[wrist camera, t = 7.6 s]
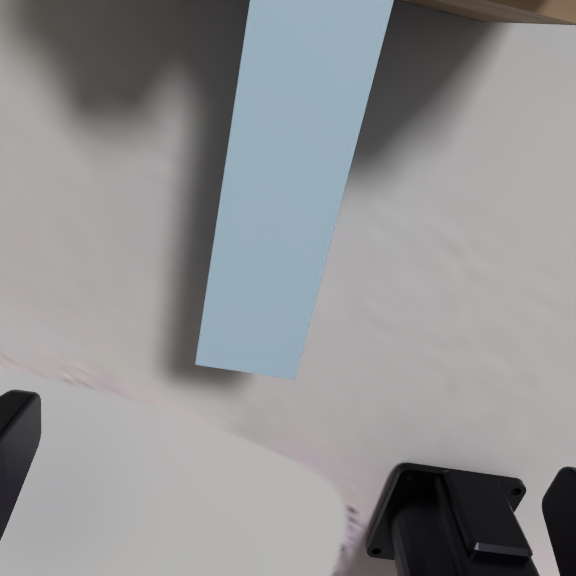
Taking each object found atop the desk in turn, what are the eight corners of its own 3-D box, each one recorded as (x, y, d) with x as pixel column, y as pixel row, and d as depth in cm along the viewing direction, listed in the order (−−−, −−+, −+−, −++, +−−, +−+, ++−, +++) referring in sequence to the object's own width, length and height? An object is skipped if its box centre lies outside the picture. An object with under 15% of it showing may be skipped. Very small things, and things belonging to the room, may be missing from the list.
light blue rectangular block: (290, 303, 21) (295, 383, 17) (210, 290, 21) (193, 368, 16) (381, -81, 15) (428, -121, 11) (272, -109, 15) (272, -162, 10)
